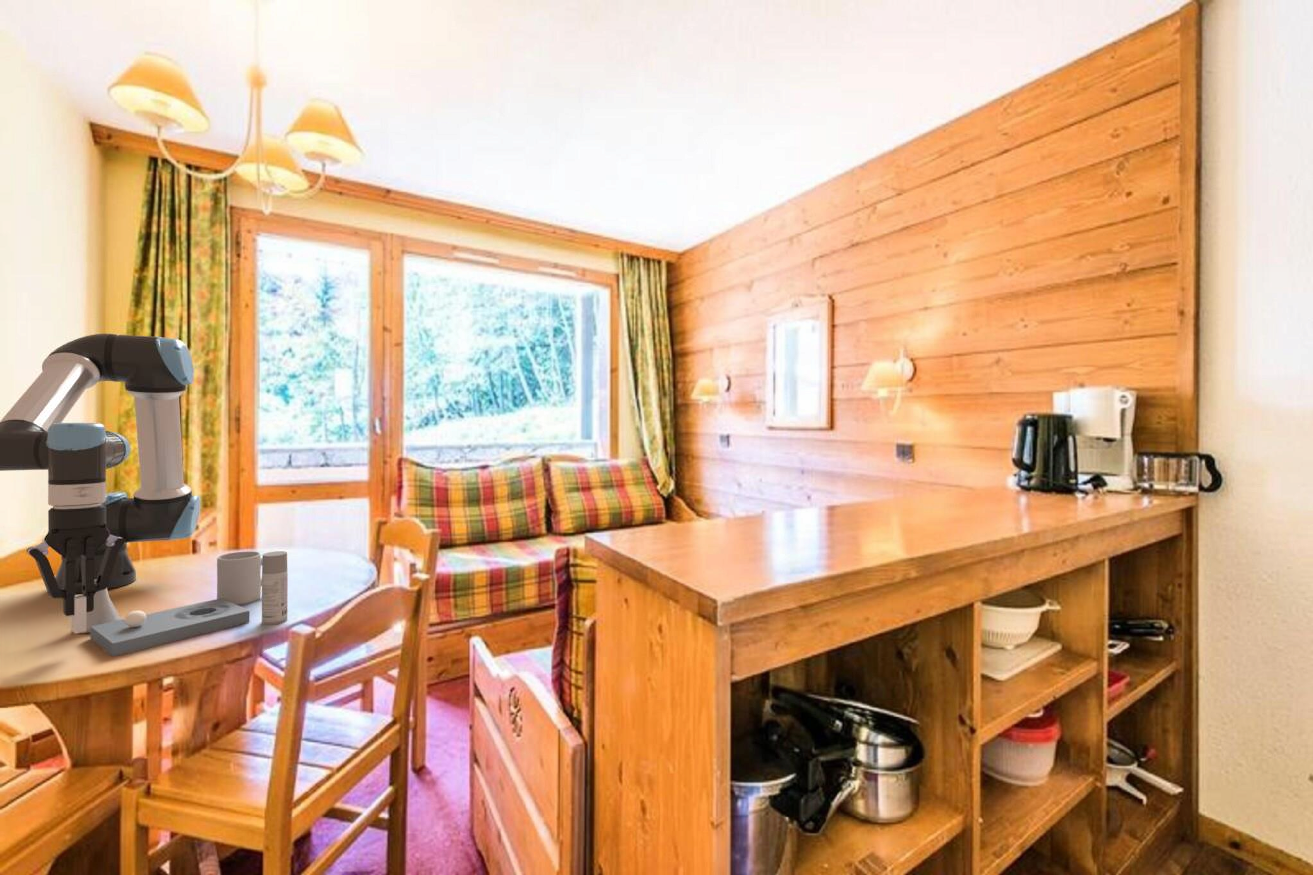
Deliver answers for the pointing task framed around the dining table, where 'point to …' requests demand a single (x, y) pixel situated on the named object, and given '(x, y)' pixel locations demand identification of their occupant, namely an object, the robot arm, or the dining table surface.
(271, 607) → the container
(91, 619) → the flask
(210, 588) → the dining table surface
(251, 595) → the mug
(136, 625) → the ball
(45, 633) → the dining table surface
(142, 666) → the dining table surface
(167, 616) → the plate
